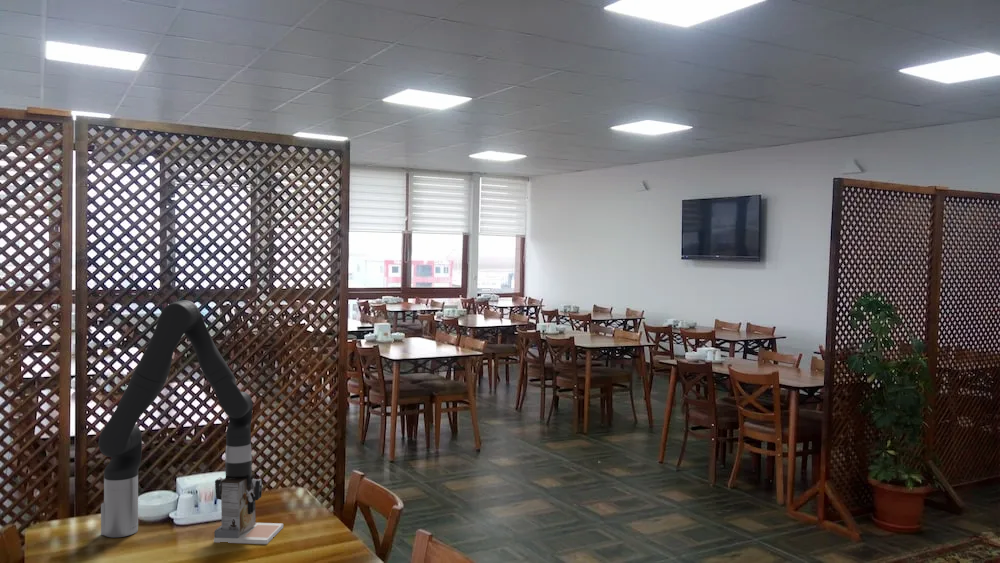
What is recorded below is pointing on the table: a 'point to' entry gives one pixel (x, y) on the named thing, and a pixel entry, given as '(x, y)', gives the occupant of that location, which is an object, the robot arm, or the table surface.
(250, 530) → the slide dock
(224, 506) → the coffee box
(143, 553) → the table surface
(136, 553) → the table surface
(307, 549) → the table surface
